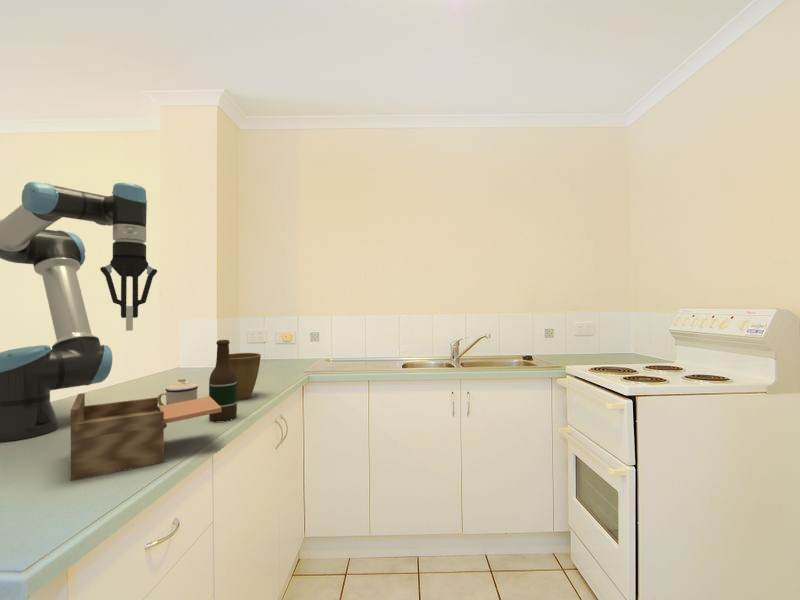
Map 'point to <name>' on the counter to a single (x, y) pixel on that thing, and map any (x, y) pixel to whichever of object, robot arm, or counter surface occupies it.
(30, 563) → the counter surface
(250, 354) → the plant pot
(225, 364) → the beer bottle
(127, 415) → the tray
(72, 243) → the robot arm
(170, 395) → the teacup with lid
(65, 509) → the counter surface
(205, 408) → the orange rectangular slab
